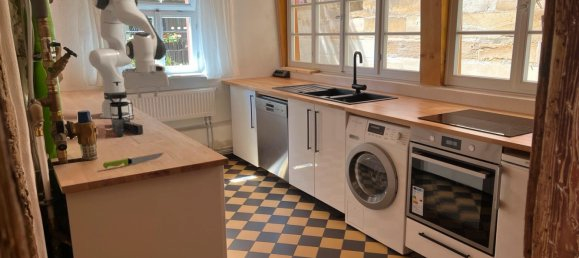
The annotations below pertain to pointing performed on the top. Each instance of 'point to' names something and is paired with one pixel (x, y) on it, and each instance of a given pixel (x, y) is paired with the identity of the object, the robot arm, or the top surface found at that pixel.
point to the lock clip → (101, 130)
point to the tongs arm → (133, 127)
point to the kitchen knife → (132, 160)
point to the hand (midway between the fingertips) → (147, 96)
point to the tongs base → (119, 125)
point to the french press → (119, 104)
